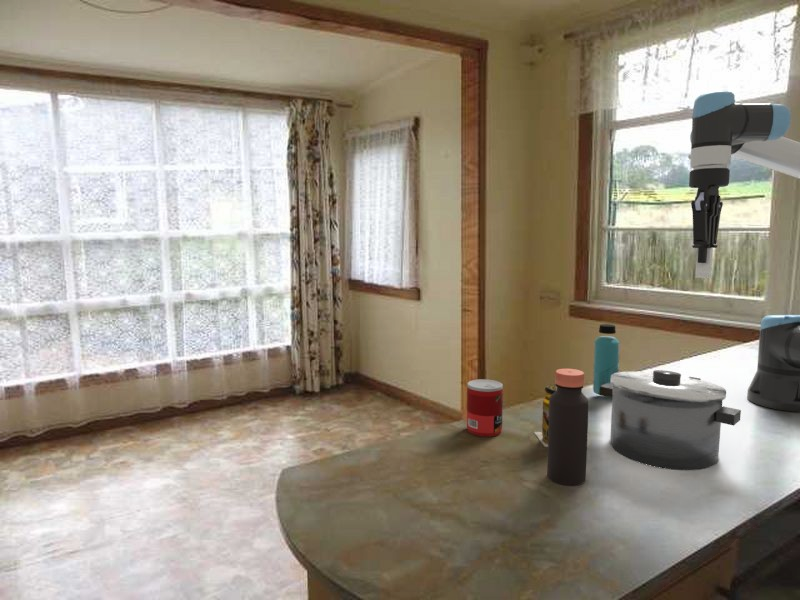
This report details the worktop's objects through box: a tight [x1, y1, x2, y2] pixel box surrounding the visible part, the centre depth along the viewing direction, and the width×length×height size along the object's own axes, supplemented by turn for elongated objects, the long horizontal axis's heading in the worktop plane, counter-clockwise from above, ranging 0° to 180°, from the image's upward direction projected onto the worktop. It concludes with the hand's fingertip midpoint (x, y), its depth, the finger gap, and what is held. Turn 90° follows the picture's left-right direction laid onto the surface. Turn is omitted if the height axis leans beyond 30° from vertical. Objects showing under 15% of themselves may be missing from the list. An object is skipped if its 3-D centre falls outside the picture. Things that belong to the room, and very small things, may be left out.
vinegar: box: [546, 368, 590, 487], centre depth 97 cm, size 7×7×20 cm
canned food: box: [466, 378, 504, 438], centre depth 121 cm, size 8×8×11 cm
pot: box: [598, 383, 742, 471], centre depth 111 cm, size 22×26×12 cm
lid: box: [611, 369, 727, 402], centre depth 109 cm, size 22×21×3 cm
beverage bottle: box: [592, 323, 621, 395], centre depth 143 cm, size 6×7×20 cm
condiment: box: [533, 383, 557, 448], centre depth 116 cm, size 7×8×12 cm
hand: (703, 277), depth 118 cm, fingers closed
